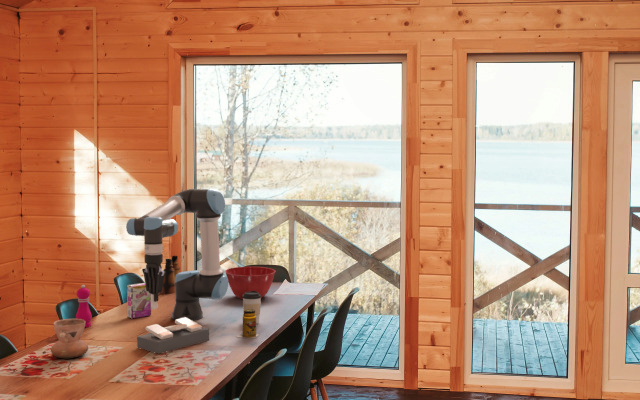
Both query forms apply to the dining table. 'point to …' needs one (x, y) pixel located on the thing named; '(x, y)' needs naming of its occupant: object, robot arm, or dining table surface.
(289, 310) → the dining table surface
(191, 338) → the power strip
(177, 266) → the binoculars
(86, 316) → the pepper mill
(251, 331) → the condiment
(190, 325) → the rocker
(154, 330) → the rocker
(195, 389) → the dining table surface
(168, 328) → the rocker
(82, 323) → the ceramic jug
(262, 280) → the mixing bowl
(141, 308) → the candy bar box
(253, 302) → the coffee cup
